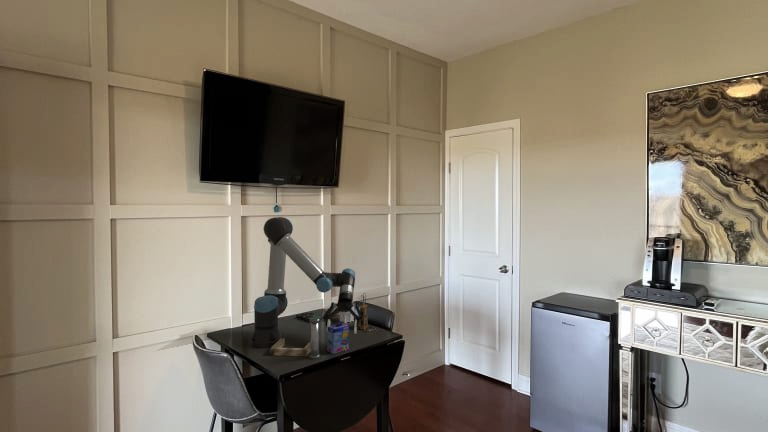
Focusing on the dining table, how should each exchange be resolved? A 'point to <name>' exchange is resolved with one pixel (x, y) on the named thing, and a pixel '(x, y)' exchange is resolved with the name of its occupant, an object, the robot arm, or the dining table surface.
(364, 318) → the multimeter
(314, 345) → the bobbin post
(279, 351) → the notched board
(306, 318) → the disk drive
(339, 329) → the ink cartridge box
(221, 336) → the dining table surface
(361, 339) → the dining table surface
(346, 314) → the cup
